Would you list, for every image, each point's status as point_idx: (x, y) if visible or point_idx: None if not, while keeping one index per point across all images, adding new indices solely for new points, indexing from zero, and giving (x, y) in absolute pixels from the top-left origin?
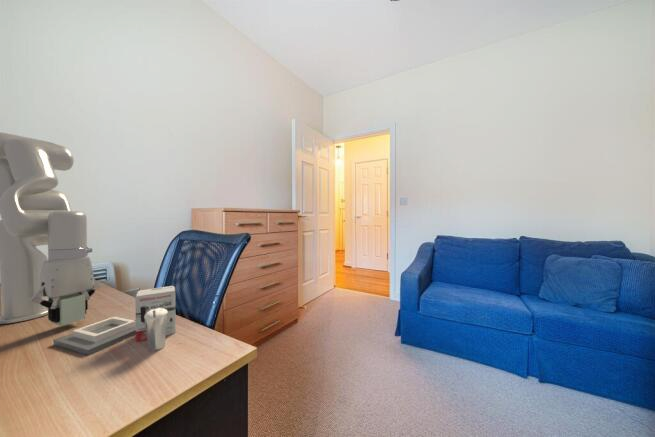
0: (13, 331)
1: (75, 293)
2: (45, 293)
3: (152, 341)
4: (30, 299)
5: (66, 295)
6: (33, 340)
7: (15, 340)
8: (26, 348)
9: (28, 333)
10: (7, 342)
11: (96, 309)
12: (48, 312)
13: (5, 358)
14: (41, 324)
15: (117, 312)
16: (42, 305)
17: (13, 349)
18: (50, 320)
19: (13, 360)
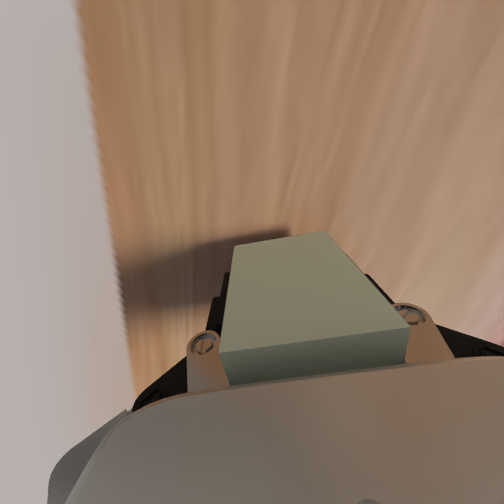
0: (115, 89)
1: (393, 353)
2: (153, 418)
3: None
4: (58, 487)
5: (321, 361)
6: (180, 300)
7: (136, 248)
8: (165, 344)
9: (169, 203)
10: (116, 245)
11: (475, 79)
12: (208, 323)
13: (130, 365)
14: (219, 97)
15: (449, 258)
16: (166, 380)
17: (139, 325)
18: (225, 273)
19: (145, 386)
